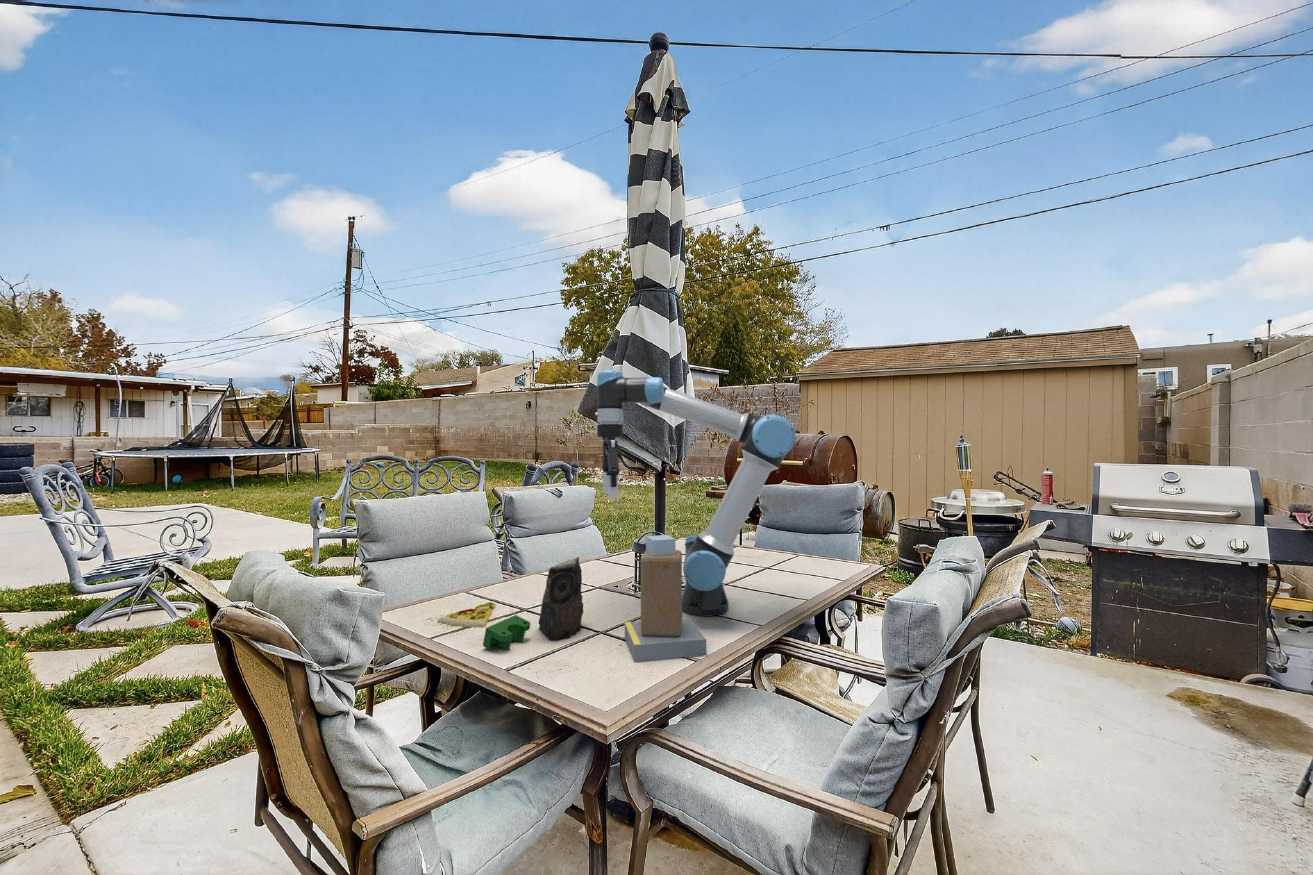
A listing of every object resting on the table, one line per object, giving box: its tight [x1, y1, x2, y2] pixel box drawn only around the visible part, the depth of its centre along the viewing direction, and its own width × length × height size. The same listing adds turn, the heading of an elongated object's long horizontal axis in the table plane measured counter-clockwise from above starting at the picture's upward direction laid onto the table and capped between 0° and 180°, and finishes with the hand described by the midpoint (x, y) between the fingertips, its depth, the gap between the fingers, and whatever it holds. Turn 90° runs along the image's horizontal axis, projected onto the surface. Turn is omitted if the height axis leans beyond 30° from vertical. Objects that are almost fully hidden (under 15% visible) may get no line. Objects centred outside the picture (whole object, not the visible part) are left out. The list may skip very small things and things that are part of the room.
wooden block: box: [640, 549, 683, 637], centre depth 140 cm, size 10×10×20 cm
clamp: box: [482, 614, 531, 651], centre depth 141 cm, size 12×6×9 cm, turn 148°
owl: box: [538, 556, 584, 642], centre depth 149 cm, size 13×13×20 cm
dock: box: [624, 617, 707, 663], centre depth 139 cm, size 18×16×4 cm
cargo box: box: [645, 534, 677, 556], centre depth 140 cm, size 6×6×4 cm
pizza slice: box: [437, 601, 496, 628], centre depth 164 cm, size 16×21×3 cm
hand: (610, 496), depth 159 cm, fingers open, 13 cm apart
